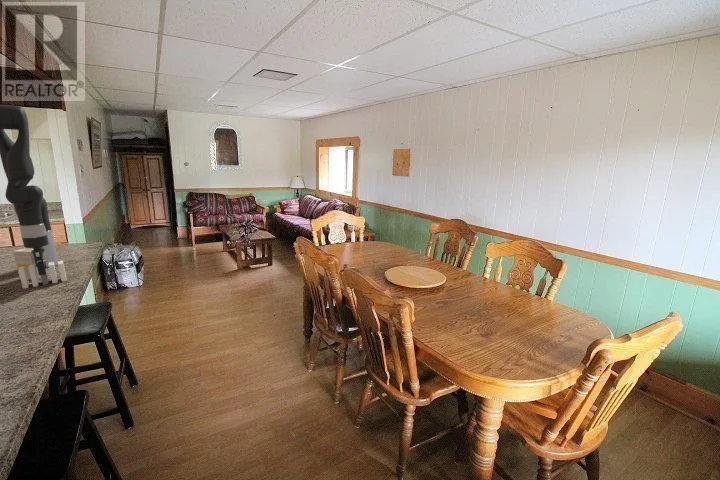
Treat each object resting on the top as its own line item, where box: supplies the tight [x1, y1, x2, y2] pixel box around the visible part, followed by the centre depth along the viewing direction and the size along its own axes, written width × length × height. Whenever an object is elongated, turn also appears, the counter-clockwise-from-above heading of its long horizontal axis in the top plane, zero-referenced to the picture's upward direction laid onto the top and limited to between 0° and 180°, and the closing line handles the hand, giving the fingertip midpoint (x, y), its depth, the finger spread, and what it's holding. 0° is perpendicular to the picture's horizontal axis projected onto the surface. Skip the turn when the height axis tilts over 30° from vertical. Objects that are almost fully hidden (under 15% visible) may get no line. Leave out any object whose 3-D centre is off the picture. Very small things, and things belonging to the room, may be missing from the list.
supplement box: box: [12, 247, 42, 281], centre depth 146 cm, size 8×5×13 cm, turn 84°
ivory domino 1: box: [17, 266, 30, 289], centre depth 138 cm, size 5×2×8 cm, turn 42°
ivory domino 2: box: [29, 265, 40, 288], centre depth 140 cm, size 5×2×8 cm, turn 42°
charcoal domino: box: [40, 268, 49, 286], centre depth 142 cm, size 5×2×8 cm, turn 42°
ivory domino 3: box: [48, 262, 59, 284], centre depth 144 cm, size 5×2×8 cm, turn 42°
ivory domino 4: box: [57, 260, 68, 283], centre depth 146 cm, size 5×2×8 cm, turn 42°
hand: (43, 271), depth 141 cm, fingers open, 8 cm apart
